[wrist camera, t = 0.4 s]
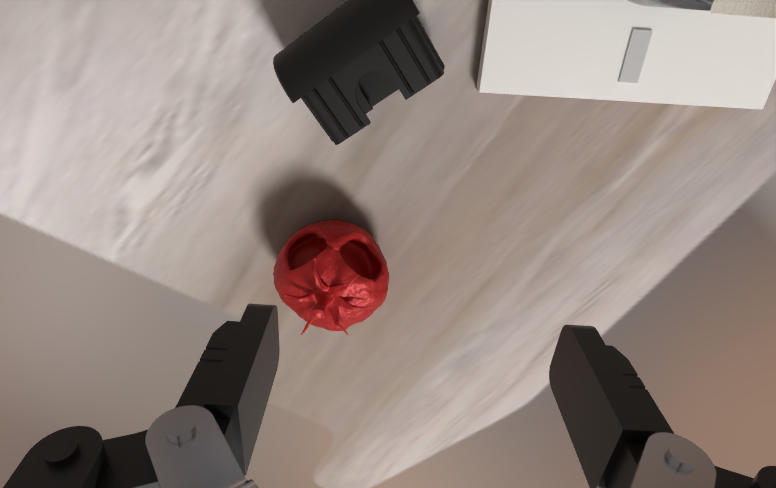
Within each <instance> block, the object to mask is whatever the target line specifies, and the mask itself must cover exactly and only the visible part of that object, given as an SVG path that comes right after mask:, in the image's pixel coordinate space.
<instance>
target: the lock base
mask: <svg viewBox="0 0 776 488" xmlns="http://www.w3.org/2000/svg"><path fill="white" fill-rule="evenodd" d="M711 7H712V5H710V4H704V3H700V2H697V1H695V0H489V1H488V8H487V15H486V22H485V29H484V36H483V44H482V51H481V58H480V65H479V72H478V79H477V86H476V89H477V90H478V91H479V92H483V93H500V94H516V95H533V96H549V97H566V98H582V99H599V100H615V101H632V102H648V103H665V104H682V105H698V106H715V107H731V108H748V109H763V107H764V105H765V103H766V100H767V98H768V96H769V93H770V91H771V88H772V86H773V84H774V81H775V79H776V18H764V17H752V16H739V15H726V14H714V13H710V10H711Z"/></svg>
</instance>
